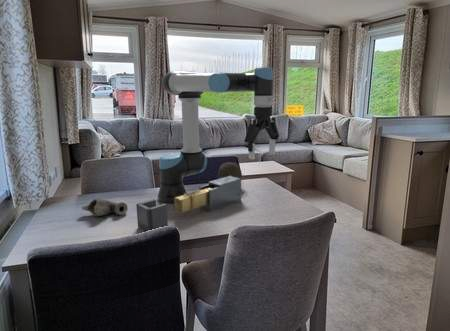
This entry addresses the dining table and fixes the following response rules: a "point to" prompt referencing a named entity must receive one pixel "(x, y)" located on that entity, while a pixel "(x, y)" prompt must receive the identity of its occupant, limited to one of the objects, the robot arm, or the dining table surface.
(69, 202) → the dining table surface
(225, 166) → the cantaloupe
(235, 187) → the sleeve
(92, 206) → the pipe
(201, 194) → the bar
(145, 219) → the socket
